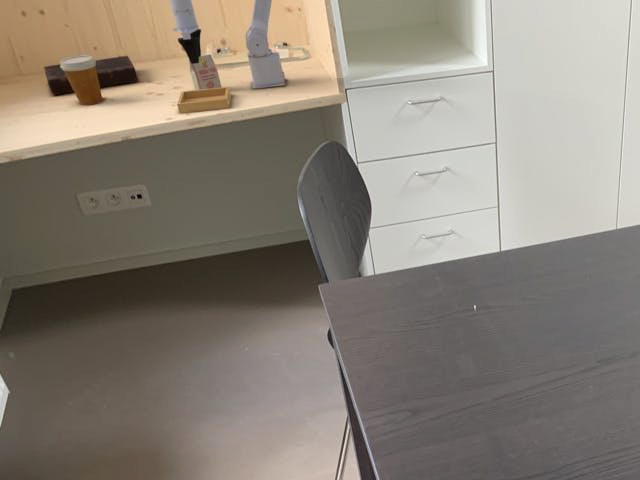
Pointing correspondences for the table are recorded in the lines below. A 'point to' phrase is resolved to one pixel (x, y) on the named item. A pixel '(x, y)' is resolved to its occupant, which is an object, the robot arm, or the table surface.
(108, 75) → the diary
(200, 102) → the tray
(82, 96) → the disposable coffee cup
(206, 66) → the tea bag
